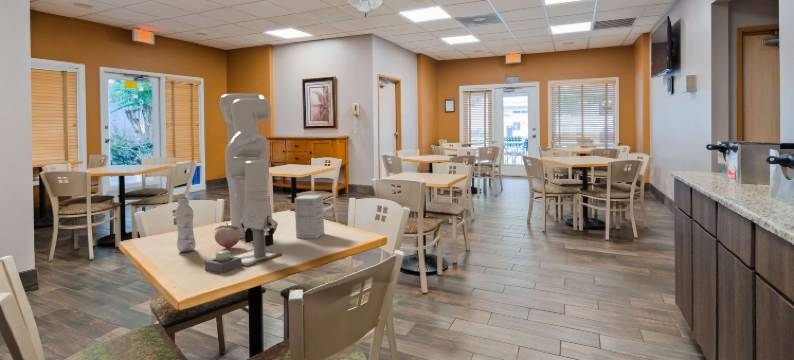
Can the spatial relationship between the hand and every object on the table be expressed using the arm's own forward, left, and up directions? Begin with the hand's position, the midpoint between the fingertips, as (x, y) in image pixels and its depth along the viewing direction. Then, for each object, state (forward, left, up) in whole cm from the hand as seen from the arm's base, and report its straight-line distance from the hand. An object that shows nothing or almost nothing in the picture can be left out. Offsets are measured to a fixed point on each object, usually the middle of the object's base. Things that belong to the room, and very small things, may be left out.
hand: (259, 243), depth 161 cm
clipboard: (-3, -2, -5) cm, 6 cm away
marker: (0, 0, -5) cm, 4 cm away
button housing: (-2, -14, -5) cm, 15 cm away
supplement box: (-6, +34, -5) cm, 35 cm away
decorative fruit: (-21, +4, -5) cm, 22 cm away
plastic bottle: (-32, -6, -5) cm, 33 cm away
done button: (-2, -14, -2) cm, 14 cm away
